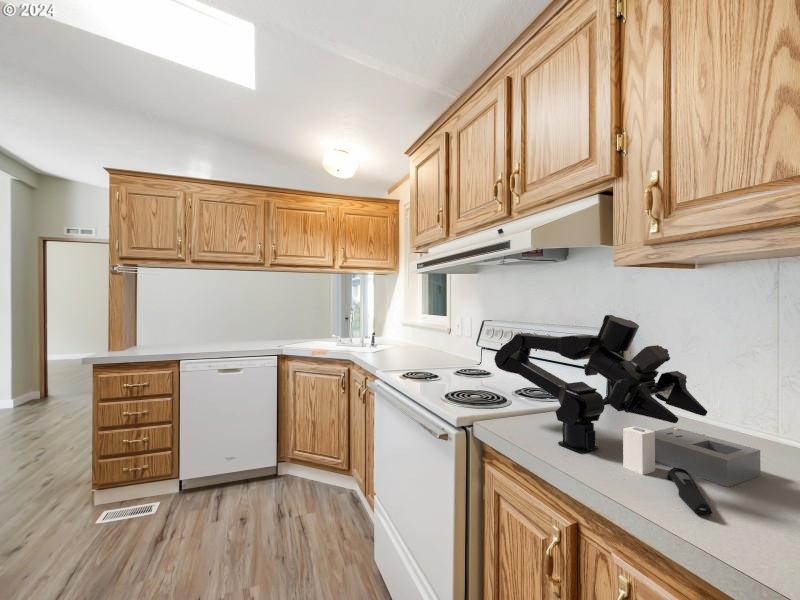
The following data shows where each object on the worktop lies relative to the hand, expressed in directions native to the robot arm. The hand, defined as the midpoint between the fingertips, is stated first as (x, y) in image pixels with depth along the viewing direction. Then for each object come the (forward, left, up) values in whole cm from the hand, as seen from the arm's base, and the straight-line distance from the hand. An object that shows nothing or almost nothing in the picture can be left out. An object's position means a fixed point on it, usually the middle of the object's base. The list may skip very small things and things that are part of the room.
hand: (692, 417), depth 69 cm
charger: (-10, +1, -13) cm, 17 cm away
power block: (-6, +14, -13) cm, 20 cm away
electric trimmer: (+1, -3, -14) cm, 14 cm away
